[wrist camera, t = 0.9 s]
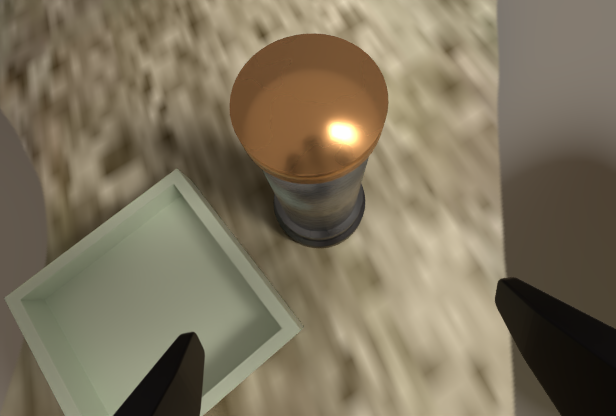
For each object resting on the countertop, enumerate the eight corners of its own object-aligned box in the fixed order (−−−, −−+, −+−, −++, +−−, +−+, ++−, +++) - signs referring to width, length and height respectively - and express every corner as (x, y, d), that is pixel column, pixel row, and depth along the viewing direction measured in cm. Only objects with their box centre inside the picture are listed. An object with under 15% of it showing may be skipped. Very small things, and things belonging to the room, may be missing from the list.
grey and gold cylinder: (378, 205, 23) (431, 105, 11) (313, 259, 22) (295, 216, 10) (324, 146, 24) (318, 2, 12) (261, 196, 23) (191, 93, 12)
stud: (382, 209, 24) (384, 205, 23) (313, 267, 23) (313, 265, 22) (324, 147, 25) (324, 141, 24) (258, 199, 24) (255, 195, 23)
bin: (304, 326, 22) (300, 330, 20) (133, 474, 20) (107, 498, 18) (191, 180, 25) (176, 168, 23) (37, 297, 24) (3, 298, 21)
